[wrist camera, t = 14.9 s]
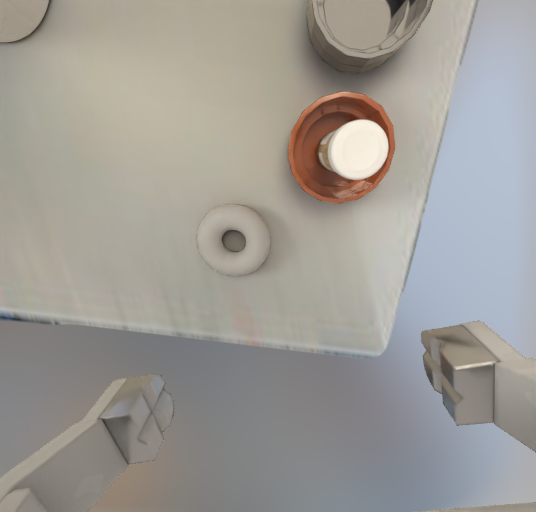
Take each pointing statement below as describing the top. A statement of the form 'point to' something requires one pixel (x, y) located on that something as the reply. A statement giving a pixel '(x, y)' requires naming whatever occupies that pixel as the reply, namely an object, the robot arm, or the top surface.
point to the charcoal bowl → (362, 30)
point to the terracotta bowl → (326, 121)
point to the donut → (242, 222)
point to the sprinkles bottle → (353, 149)
